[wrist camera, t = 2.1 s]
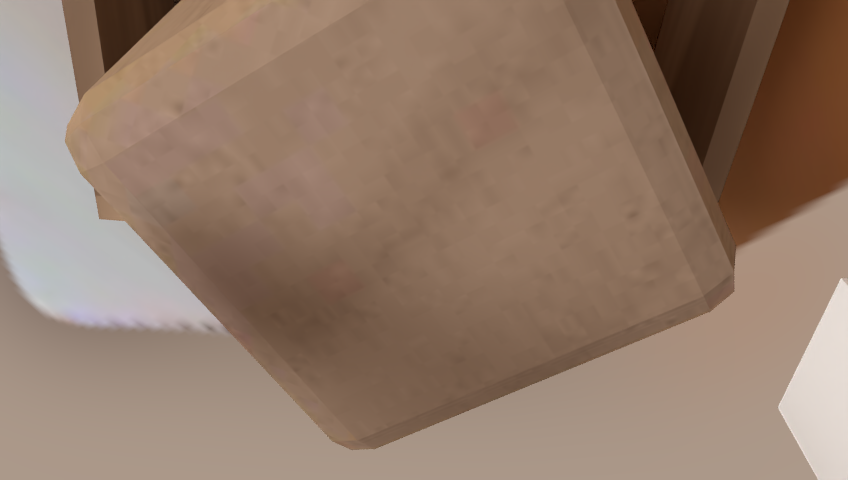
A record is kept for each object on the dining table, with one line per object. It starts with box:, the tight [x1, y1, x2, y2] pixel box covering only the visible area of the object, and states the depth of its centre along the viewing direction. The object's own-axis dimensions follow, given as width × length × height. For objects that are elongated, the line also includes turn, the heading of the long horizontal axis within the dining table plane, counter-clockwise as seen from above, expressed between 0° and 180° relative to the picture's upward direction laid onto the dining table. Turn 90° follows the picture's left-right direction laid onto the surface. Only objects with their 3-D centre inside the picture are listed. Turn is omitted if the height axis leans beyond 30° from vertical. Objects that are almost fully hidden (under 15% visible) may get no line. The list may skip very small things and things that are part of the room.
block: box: [65, 0, 736, 450], centre depth 22 cm, size 10×10×20 cm
